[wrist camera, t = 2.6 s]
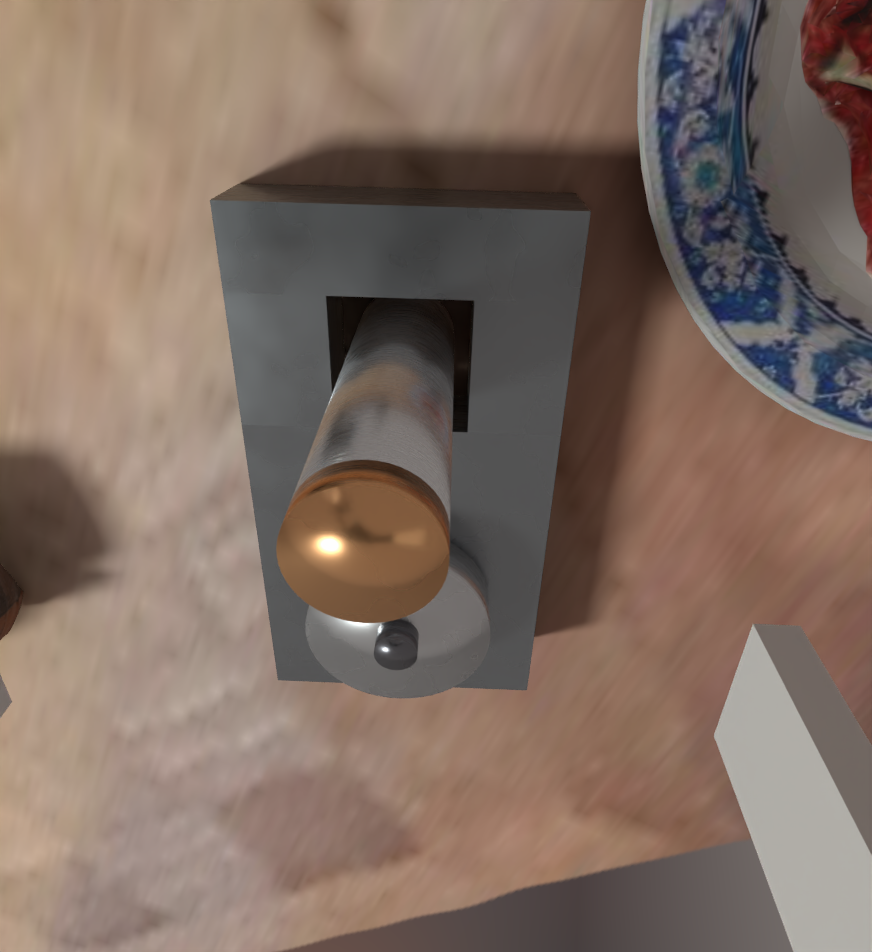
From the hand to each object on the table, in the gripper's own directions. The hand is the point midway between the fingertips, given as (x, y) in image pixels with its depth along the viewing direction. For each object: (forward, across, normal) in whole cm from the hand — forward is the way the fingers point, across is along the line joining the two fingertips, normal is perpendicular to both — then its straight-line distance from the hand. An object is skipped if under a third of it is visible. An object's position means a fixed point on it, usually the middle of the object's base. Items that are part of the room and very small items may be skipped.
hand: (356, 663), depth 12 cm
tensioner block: (+16, 0, -5) cm, 16 cm away
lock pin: (+16, 0, 0) cm, 16 cm away
